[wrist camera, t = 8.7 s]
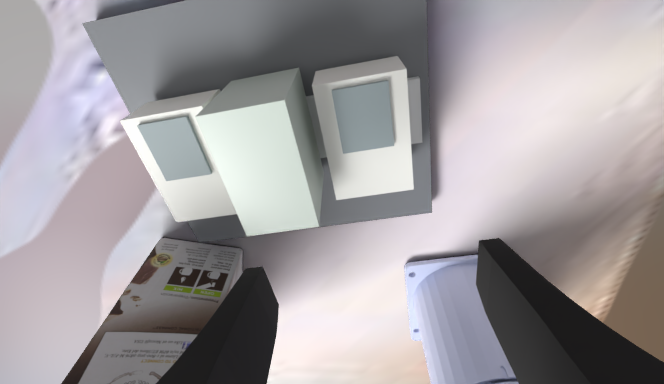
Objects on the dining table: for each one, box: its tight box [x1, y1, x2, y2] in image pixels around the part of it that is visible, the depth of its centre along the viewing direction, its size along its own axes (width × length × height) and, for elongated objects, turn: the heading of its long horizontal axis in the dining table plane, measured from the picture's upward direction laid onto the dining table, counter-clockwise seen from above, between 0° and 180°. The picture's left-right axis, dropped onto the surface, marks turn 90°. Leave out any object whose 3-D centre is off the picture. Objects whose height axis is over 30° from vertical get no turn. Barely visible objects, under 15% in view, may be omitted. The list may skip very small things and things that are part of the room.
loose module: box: [195, 68, 324, 237], centre depth 16 cm, size 6×4×5 cm, turn 11°
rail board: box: [82, 0, 432, 243], centre depth 18 cm, size 14×16×4 cm
